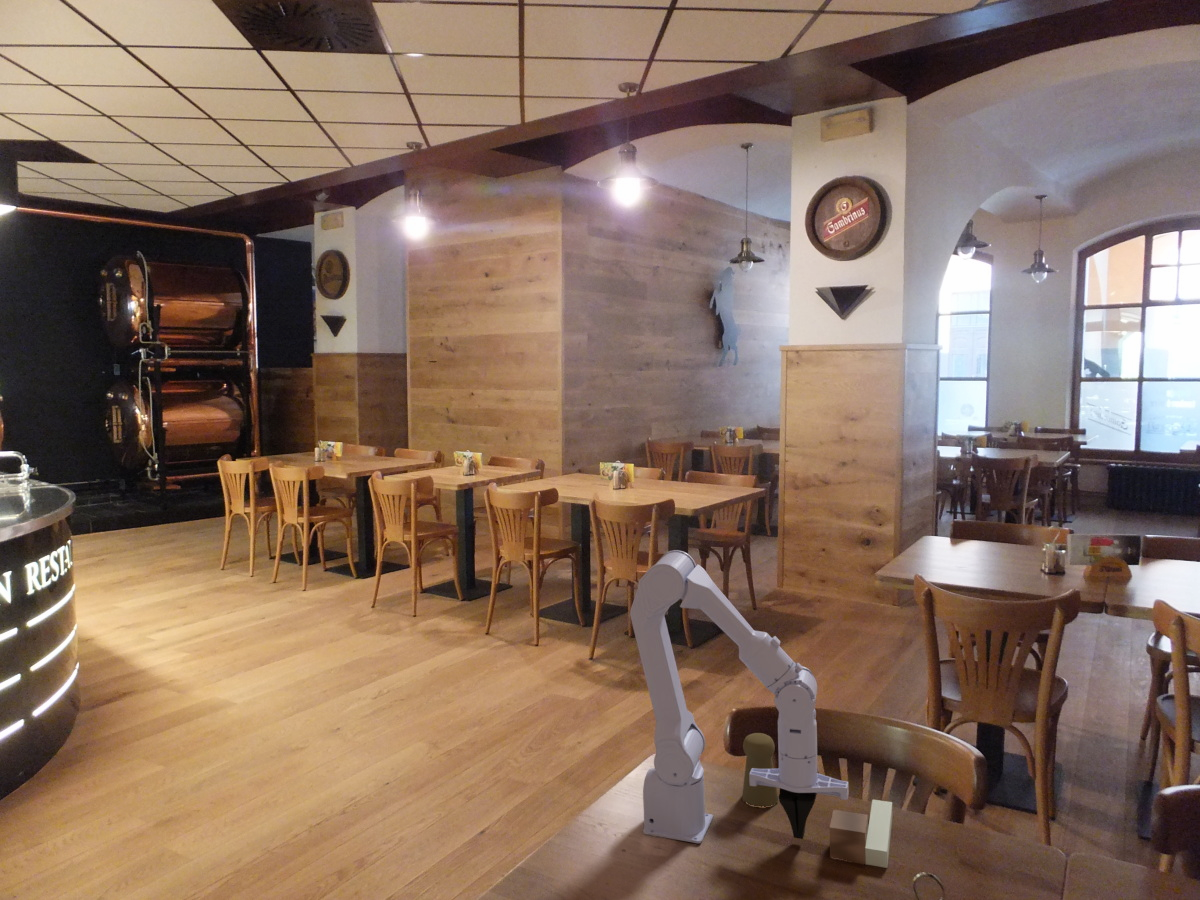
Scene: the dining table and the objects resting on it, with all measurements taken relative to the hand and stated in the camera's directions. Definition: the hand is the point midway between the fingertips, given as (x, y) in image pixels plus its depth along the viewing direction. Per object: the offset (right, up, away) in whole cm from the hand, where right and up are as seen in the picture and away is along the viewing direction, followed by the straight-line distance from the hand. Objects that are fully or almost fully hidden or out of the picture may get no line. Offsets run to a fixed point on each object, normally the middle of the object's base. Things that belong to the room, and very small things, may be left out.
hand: (799, 834), depth 129 cm
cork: (-3, 0, +13) cm, 14 cm away
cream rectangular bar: (+12, -1, 0) cm, 12 cm away
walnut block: (+7, -1, -3) cm, 8 cm away
